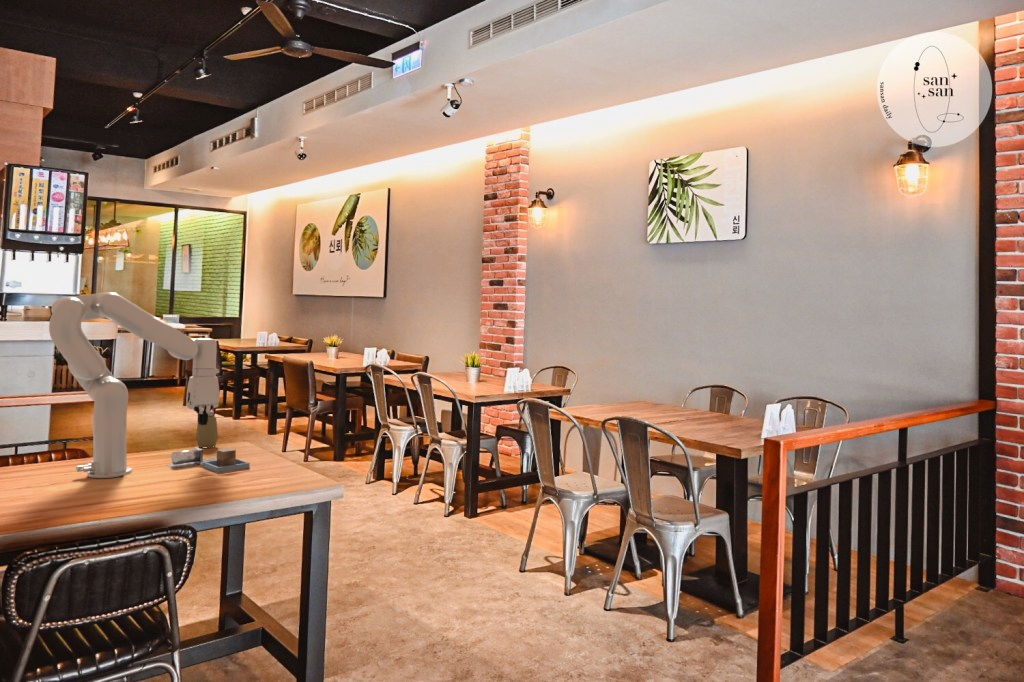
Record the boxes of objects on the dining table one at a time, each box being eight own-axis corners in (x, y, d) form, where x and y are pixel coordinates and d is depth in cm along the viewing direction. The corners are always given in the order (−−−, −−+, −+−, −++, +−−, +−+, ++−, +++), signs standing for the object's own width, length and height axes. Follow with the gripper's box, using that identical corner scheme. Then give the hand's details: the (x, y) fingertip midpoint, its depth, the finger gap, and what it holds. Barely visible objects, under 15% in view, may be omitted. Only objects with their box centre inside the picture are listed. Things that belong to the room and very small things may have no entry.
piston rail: (174, 469, 236) (174, 468, 236) (166, 466, 240) (166, 465, 240) (227, 462, 249) (227, 460, 249) (218, 458, 254) (218, 457, 254)
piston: (177, 466, 237) (177, 453, 237) (170, 463, 241) (170, 450, 240) (202, 462, 244) (202, 449, 243) (196, 460, 247) (196, 447, 247)
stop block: (222, 469, 236) (223, 451, 236) (216, 467, 239) (216, 449, 239) (235, 467, 240) (235, 450, 239) (229, 465, 242) (229, 448, 242)
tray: (217, 474, 231) (217, 467, 231) (202, 468, 239) (202, 462, 239) (249, 469, 240) (249, 462, 240) (234, 463, 247) (234, 457, 247)
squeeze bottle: (195, 446, 276) (196, 401, 275) (217, 444, 279) (218, 400, 278) (195, 449, 268) (196, 403, 267) (218, 448, 272) (218, 403, 271)
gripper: (219, 371, 253) (218, 421, 254) (178, 372, 242) (176, 424, 243) (229, 373, 248) (228, 424, 249) (187, 374, 237) (185, 427, 238)
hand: (202, 424), depth 246 cm, fingers closed
